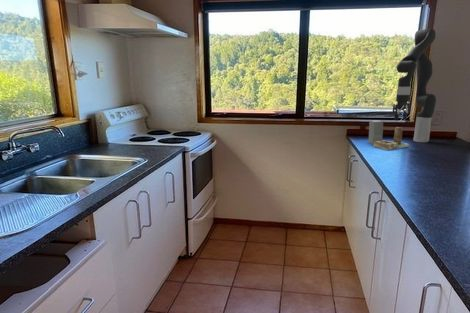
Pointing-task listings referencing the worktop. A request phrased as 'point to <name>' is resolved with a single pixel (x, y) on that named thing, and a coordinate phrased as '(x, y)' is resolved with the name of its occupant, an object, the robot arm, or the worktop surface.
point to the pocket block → (386, 145)
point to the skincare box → (375, 131)
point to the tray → (403, 145)
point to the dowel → (398, 135)
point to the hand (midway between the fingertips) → (400, 119)
